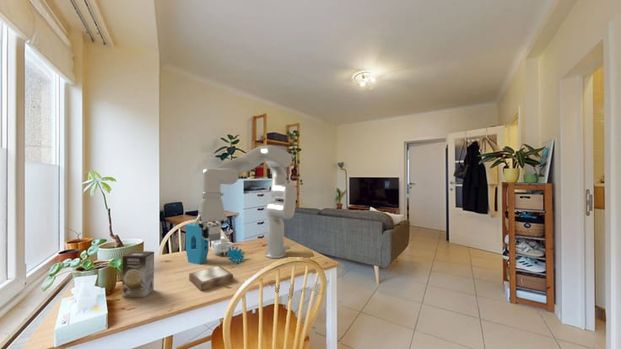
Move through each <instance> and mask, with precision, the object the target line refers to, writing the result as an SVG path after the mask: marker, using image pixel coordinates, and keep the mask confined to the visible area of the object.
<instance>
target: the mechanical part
mask: <svg viewBox="0 0 621 349" xmlns="http://www.w3.org/2000/svg"><path fill="white" fill-rule="evenodd" d="M232 246H234V243H233V242H231V241H230V238H228V236H227V235H226V234H225V233H221V240H215V241H211V251H212V253H214V254H215V253H216V254H218V255H220V254H221V253H223V255H226V253H227V251H228V249H229V248H231V249H232Z"/></svg>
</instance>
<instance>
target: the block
mask: <svg viewBox="0 0 621 349" xmlns="http://www.w3.org/2000/svg"><path fill="white" fill-rule="evenodd" d="M209 247H210V246H209V241H207V240H205V239H203V238H202V229H201V228H200V227H199V226H198V225H196V224H195V223H194V222H191V223H186V224H185V252H186V258H187V259H186V260H187V262H188V263H191V264H196V265H202V264H204V263H206V262H207V259H208V254H209Z"/></svg>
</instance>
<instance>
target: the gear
mask: <svg viewBox="0 0 621 349" xmlns="http://www.w3.org/2000/svg"><path fill="white" fill-rule="evenodd" d="M242 251H243V250H242V248H240V249H239V247H238V246H236V247H235V246H234V245H233V246H232V247H231V248H229V249H228V251H227V252H226V253H227V255H226V257H227V258H228V260H229V261H232V263H233V264H235V263H236V264H239V263H242V262H243V260H244V258H245V256H244V255H245V253H246V251H243V252H242Z"/></svg>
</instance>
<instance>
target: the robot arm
mask: <svg viewBox="0 0 621 349" xmlns="http://www.w3.org/2000/svg"><path fill="white" fill-rule="evenodd" d="M264 162H265V164H266V165H267V167H268V168H269V169H270V172H271V184H270V196H271V197H272V198H273V199H277V200H271V201H270V202H268V203H267V205H266V208H265V212H266V219H267V245H266V246H267V249H266V251H265V252H264V256H265V257H266V258H269V259H280V258H284V257H286V256H287V252H286V250H287V251H288V250H290V249H291V246H290V245H287V246H286V245H285V244H284V242H285V223H284V220H291V219H292V218H293V217H294V215H295V211H296V201H297V188H296V186H295V185H294V184H292V183H288V182H287V172H286V170H285V168H288V167H290V166H291V164H292V162H293V158H292V155H291V154H290V153H289V152H288V151H286V150H284V149H281V148H279V147H278V146H275V145H271V144H270V145H267V144H266V145H259V146H256V147H254V148H253V149H251V150H249V151H248V152H246V153H245V154H243V155H242V156H237V157H236V158H234V159H230V160H228V161H226V162H224V163H221V164H220V165H218V166H216V167H215V168H204V169H203V170H202V199H200V200H199V206H198V214H197V218H195V220H194V221H193V223H195V224H196V225H198V226H199V227H200V228H201V229H202V237H203V238H205V239H206V238H207V229H206V226H207V224H208V223H215V224H217V225H219V226H221V228H222V226H223V225H224V224H225V222H226V221H227V220H228V218H229V217H227V216H226V215H225V213H224V203H223V198H222V197H223V196H224V192H222V191H221V190H222V189H221V188H222V187H221V186H222V185H233V184H235V183H237V182H238V180H239V177H240V176H239V174H240V173H246V172H249V171H250V172H251V171H252V170H254V169H255V168H256V167H258V166H260V165H261V164H263V163H264ZM279 200H283V201H279Z"/></svg>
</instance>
